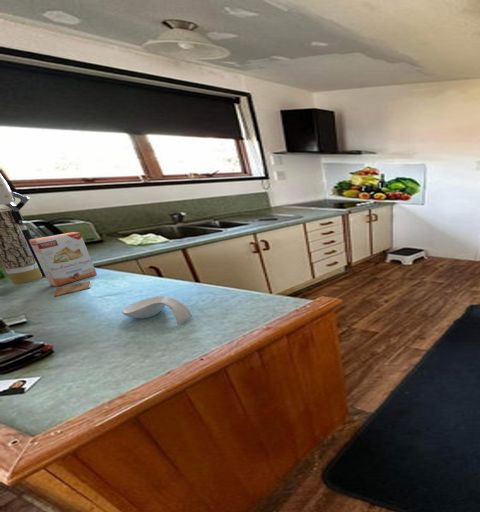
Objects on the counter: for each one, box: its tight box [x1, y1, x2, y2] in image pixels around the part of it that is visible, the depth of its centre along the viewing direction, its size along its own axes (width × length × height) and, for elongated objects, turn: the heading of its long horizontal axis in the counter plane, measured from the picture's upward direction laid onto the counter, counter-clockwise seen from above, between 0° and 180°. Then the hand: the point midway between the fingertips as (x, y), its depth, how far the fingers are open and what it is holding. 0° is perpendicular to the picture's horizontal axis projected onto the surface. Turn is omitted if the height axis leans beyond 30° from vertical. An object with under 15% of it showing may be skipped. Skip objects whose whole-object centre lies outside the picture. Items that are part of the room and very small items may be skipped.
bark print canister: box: [0, 207, 43, 285], centre depth 91 cm, size 7×7×25 cm
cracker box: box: [29, 231, 98, 287], centre depth 120 cm, size 14×6×21 cm, turn 161°
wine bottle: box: [18, 212, 46, 277], centre depth 126 cm, size 6×6×30 cm
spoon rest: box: [121, 295, 193, 325], centre depth 90 cm, size 24×12×7 cm, turn 73°
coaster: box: [53, 280, 91, 298], centre depth 114 cm, size 10×10×1 cm
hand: (0, 224), depth 88 cm, fingers closed on bark print canister, 6 cm apart
